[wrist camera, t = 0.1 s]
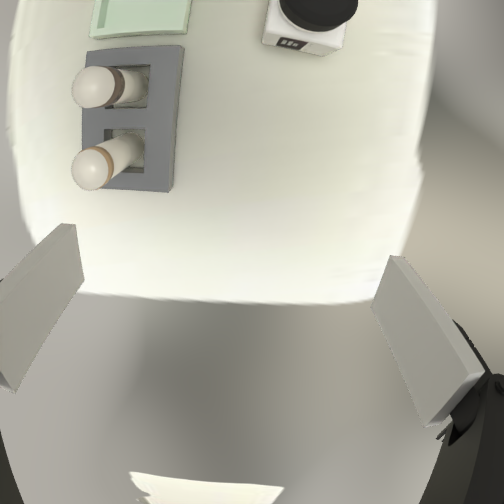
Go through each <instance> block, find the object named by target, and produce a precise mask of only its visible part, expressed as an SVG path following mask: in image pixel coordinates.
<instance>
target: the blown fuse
mask: <svg viewBox="0 0 504 504" xmlns="http://www.w3.org/2000/svg"><path fill="white" fill-rule="evenodd" d="M148 84H149V82H148V79H147V77H146V76H145V75H144V74H142V73H140V72H135V71H129V70H122V69H116V68H113V67H107V66H90V67H86V68H84V69H83V70H81V71H80V72H79V73H78V74H77V76H76V77H75V79H74V81H73V84H72V96H73V99H74V101H75V102H76V103H77V104H78V105H79V106H81V107H83V108H99V107H105V106H110V105H113V104H120V103H128V102H136V101H139V100H140V99H142V98H143V97H144V96H145V95H146V93H147V91H148Z"/></svg>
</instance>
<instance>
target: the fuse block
mask: <svg viewBox="0 0 504 504" xmlns="http://www.w3.org/2000/svg"><path fill="white" fill-rule="evenodd" d="M183 56H184V48H183V47H182V46H141V47H126V48H114V49H104V50H96V51H88V52H87V55H86V64H85V68H86V67H90V66H107V67H113V68H116V67H128V66H150V74H149V84H148V96H147V108H113V105H110V106H105V107H99V108H83V107H82V150H84V149H86V148H89V147H91V146H96V145H98V144H100V143H103V142H105V141H108V140H110V139H112V129H145V145H144V168H126V169H124V170H123V171H121V172H120V173H118V174H117V175H116V176H114V177H113V178H112V179H110V180H109V182H108V183H106V184H105V185H104V186H102V187H101V188H102V189H121V190H138V191H153V192H167V193H169V191H170V190H171V189H172V187H173V173H174V154H175V138H176V125H177V112H178V101H179V91H180V82H181V73H182V64H183Z"/></svg>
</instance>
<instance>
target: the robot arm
mask: <svg viewBox="0 0 504 504" xmlns="http://www.w3.org/2000/svg"><path fill="white" fill-rule="evenodd" d="M83 282H84V275H83V269H82V264H81V258H80V252H79V245H78V239H77V231H76V225H75V224H63V223H61V224H60V225H59V226H57V227H56V228H55V229H54V230H53V231H52V232H51V233H50V234H49V235H47V236H46V237H45V238H44V239H43V240H42V241H41V242H40V243H39V244H38V245H37V246H36V247H35V248H34V249H33V250H31V252H30V253H28V254H27V255H26V257H24V258H23V259H22V260H21V261H20V262H19V263H18V265H16V266H15V268H13V269H12V271H11V272H10V273H9V274H8V275H7V276H6V277H5V278H4V279H2V280H0V388H2V389H5V390H7V391H9V392H12V393H14V394H16V392H17V390H18V388H19V386H20V384H21V382H22V380H23V379H24V377H25V375H26V373H27V371H28V369H29V368H30V366H31V364H32V362H33V360H34V358H35V357H36V355H37V353H38V352H39V350H40V348H41V347H42V345H43V343H44V342H45V340H46V338H47V337H48V335H49V333H50V332H51V330H52V328H53V327H54V325H55V324H56V322H57V321H58V319H59V317H60V316H61V314H62V313H63V311H64V310H65V308H66V307H67V305H68V304H69V302H70V301H71V299H72V298H73V296H74V295H75V293H76V292H77V290H78V289H79V287H80V286H81V285H82V283H83ZM371 309H372V311H373V313H374V315H375V317H376V319H377V322H378V323H379V326H380V328H381V330H382V332H383V334H384V336H385V338H386V341H387V343H388V345H389V347H390V349H391V351H392V354H393V356H394V358H395V360H396V362H397V365H398V367H399V369H400V371H401V374H402V376H403V378H404V381H405V383H406V385H407V388H408V390H409V393H410V395H411V398H412V400H413V403H414V405H415V407H416V410H417V412H418V415H419V417H420V420H421V423H422V425H423V428H426V427H430V426H434V425H438V424H441V423H442V422H443V421H444V420H445V418H446V417H447V416H448V415H449V414H450V415H451V417H452V419H453V420H452V422H451V423H450V424H449V425H448V426H447V427H446V428H445V429H444V430H443V431H442V432H441V433H440V434H439V435H438V436H437V438H436V439H437V440H439V439H440V438H441V437H442V436H443V435H444V434H445V437H444V439H443V440H442V442H443V444H442V446H441V449H440V453H439V455H438V458H437V461H436V464H435V466H434V469H433V472H432V474H431V477H430V480H429V482H428V484H427V487H426V489H425V491H424V494H423V496H422V499H421V500H420V503H419V504H504V375H501V374H492V373H491V371H490V369H489V368H488V366H487V365H486V363H485V361H484V360H483V358H482V357H481V355H480V354H479V352H478V350H477V349H476V348H475V347H474V344H473V343H472V341H471V340H469V337H468V336H467V334H466V332H465V331H464V330H463V328H462V327H461V326H460V325H458V324H457V323H456V322H455V321H454V320H452V319H451V318H450V316H449V315H448V313H447V312H446V311H445V309H444V308H443V307H442V305H441V304H440V302H439V301H438V300H437V298H436V297H435V296H434V294H433V293H432V292H431V290H430V289H429V288H428V286H427V285H426V284H425V282H424V281H423V280H422V279H421V277H420V276H419V275H418V273H417V272H416V271H415V270H414V268H413V267H412V266H411V264H410V263H409V262H408V261H407V260H406V259H405V257H400V256H391V255H390V257H389V259H388V262H387V265H386V268H385V271H384V273H383V276H382V279H381V281H380V284H379V287H378V289H377V292H376V294H375V297H374V299H373V302H372V305H371ZM0 504H24V503H23V500H22V497H21V495H20V492H19V490H18V487H17V484H16V482H15V479H14V476H13V473H12V470H11V467H10V464H9V461H8V457H7V454H6V450H5V447H4V443H3V440H2V436H1V432H0Z"/></svg>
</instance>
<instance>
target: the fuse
mask: <svg viewBox="0 0 504 504" xmlns="http://www.w3.org/2000/svg"><path fill="white" fill-rule="evenodd" d="M144 145H145V144H144V141H143V139H142V138H141V136H139V135H138V134H136V133H133V132H128V133H125V134H123V135H120V136H117V137H115V138H112V139H110V140H108V141H105V142H103V143H100V144H98V145H96V146H91V147H89V148H86V149H84V150H82V151H80V152H79V153H78V154H77V156H76V157H75V158H74V160H73V162H72V168H71V171H72V176H73V179H74V181H75V182H76V184H77V185H78V186H79V187H81V188H82V189H84V190H88V191H92V190H97V189H99V188H101V187H102V186H104V185H105V184H106V183H108V182H109V180H110V179H112V178H113V177H114V176H116V175H117V174H118V173H120V172H121V171H123V170H124V169H126V168H127V167H128V166H130V165H131V164H133V163H134V162H136V161H137V160H139V159H140V158H141V157H142V155H143V153H144Z"/></svg>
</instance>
